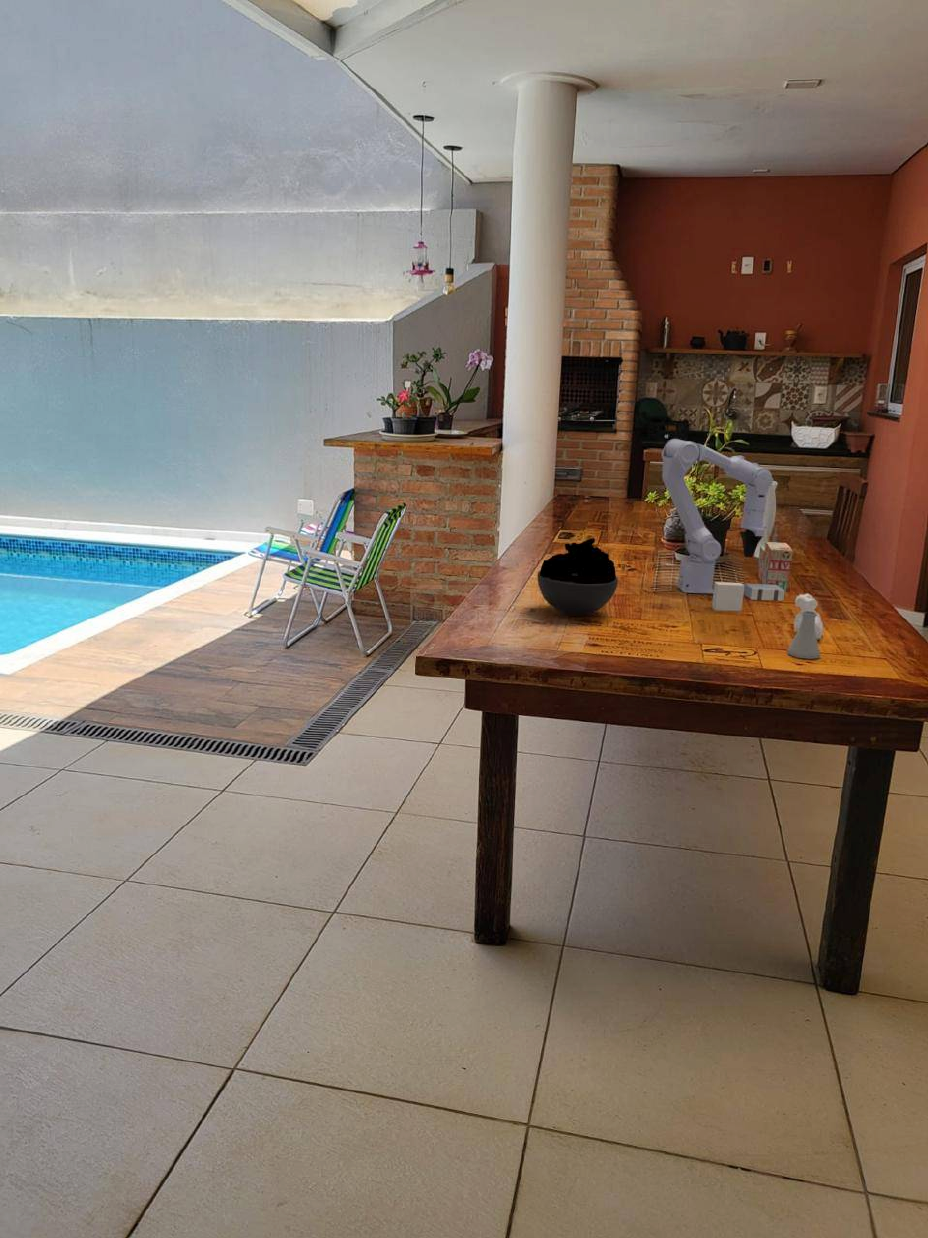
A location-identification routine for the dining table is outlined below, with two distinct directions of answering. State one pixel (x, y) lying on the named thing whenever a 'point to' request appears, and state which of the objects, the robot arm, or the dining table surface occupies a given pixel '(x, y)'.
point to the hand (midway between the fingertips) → (748, 556)
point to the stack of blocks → (775, 564)
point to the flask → (805, 638)
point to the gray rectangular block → (764, 592)
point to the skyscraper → (768, 519)
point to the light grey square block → (728, 596)
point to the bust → (808, 605)
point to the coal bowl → (578, 579)
